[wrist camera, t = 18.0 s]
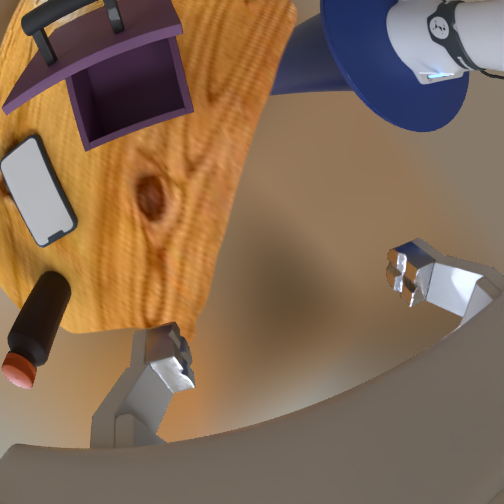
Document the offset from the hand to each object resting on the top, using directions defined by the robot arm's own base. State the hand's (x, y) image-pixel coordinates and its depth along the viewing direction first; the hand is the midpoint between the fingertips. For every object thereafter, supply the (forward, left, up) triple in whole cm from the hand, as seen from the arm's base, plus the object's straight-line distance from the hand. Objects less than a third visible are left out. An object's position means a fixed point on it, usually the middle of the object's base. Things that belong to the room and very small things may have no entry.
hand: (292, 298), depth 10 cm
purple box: (+7, -14, -31) cm, 35 cm away
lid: (+7, -17, -17) cm, 24 cm away
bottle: (+32, +12, -31) cm, 46 cm away
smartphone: (+26, -4, -31) cm, 41 cm away
